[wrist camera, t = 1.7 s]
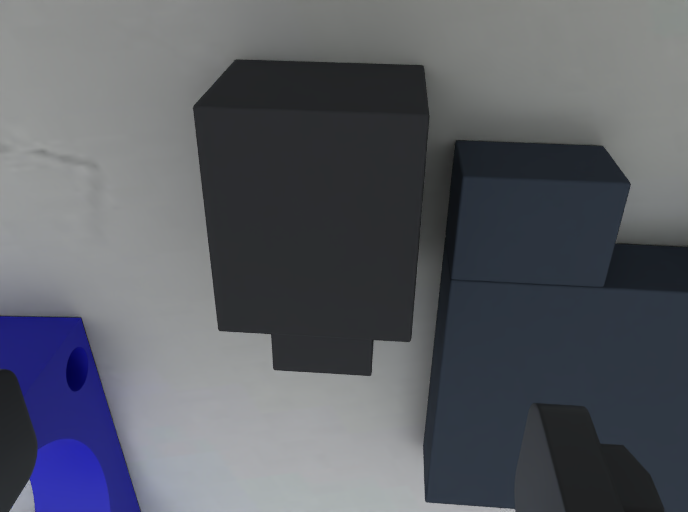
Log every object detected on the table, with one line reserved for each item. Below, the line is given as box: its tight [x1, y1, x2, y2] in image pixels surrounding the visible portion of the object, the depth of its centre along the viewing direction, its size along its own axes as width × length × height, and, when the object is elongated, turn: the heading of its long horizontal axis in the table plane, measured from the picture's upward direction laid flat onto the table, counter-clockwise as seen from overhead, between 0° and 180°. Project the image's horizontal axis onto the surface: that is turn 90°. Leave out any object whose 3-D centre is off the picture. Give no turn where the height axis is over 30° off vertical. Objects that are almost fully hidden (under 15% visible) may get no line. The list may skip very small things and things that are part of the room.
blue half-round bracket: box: [0, 316, 140, 512], centre depth 23 cm, size 12×4×6 cm, turn 2°
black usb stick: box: [193, 60, 429, 376], centre depth 17 cm, size 9×5×4 cm, turn 0°
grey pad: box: [423, 141, 688, 512], centre depth 19 cm, size 12×12×2 cm
